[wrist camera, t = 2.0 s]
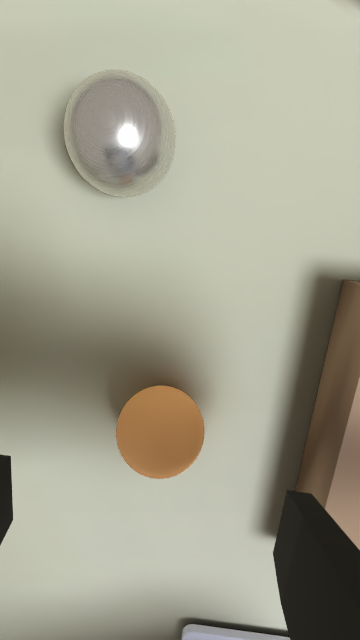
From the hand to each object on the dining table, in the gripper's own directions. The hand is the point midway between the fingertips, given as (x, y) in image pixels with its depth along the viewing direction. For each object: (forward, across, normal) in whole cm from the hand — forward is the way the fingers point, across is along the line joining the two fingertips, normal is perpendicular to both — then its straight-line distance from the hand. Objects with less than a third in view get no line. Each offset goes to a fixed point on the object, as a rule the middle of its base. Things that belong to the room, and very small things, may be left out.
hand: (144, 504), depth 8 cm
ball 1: (+3, +2, -9) cm, 10 cm away
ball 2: (+3, 0, 0) cm, 4 cm away
